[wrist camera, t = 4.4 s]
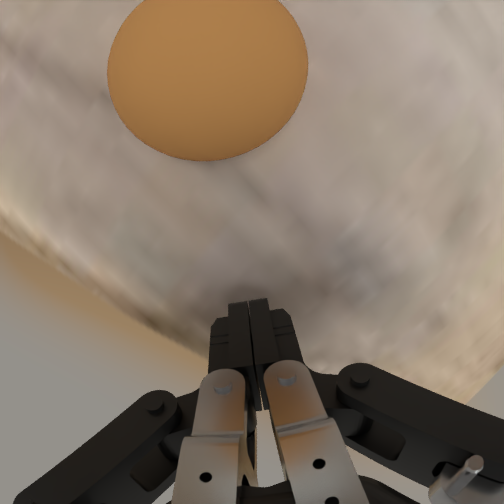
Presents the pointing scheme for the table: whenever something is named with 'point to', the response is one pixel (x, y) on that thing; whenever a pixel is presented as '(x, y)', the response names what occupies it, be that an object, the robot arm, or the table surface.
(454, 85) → the table surface
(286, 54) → the ball
